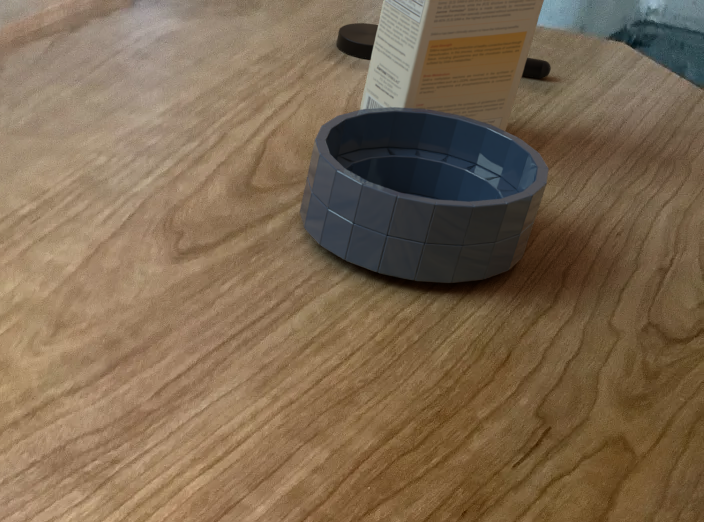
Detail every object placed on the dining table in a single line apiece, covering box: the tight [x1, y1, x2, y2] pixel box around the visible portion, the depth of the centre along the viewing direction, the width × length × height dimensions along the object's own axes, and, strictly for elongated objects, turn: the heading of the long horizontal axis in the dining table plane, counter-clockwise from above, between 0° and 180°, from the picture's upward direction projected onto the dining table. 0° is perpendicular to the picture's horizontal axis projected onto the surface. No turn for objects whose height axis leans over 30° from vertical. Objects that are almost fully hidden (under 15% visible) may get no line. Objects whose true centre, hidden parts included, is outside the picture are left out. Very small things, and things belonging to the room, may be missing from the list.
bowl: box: [299, 107, 550, 284], centre depth 76 cm, size 12×12×5 cm
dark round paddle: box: [335, 22, 552, 79], centre depth 99 cm, size 15×4×1 cm, turn 69°
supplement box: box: [359, 0, 545, 132], centre depth 84 cm, size 8×5×13 cm, turn 108°
